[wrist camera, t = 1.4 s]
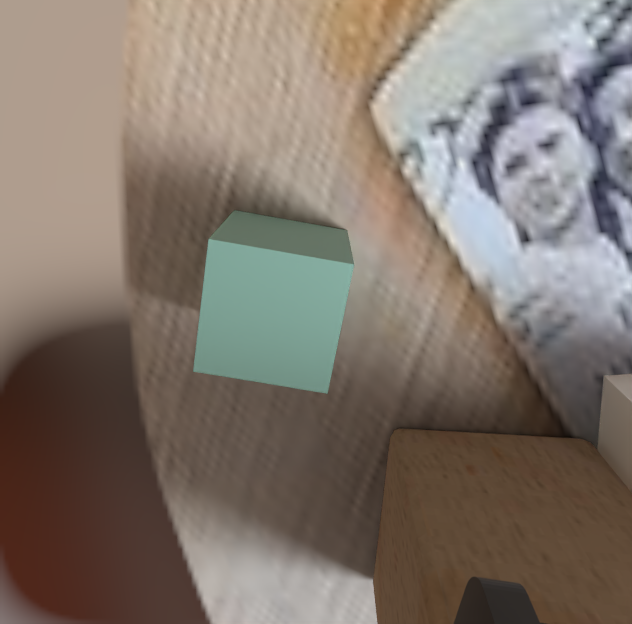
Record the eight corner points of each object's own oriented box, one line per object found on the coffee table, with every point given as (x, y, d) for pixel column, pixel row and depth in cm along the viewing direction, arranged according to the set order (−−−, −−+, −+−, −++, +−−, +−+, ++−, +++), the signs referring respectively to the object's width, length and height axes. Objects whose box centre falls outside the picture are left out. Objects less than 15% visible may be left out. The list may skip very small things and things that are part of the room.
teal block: (234, 209, 25) (208, 239, 19) (347, 230, 25) (354, 264, 19) (220, 316, 27) (192, 371, 21) (326, 333, 27) (327, 393, 21)
